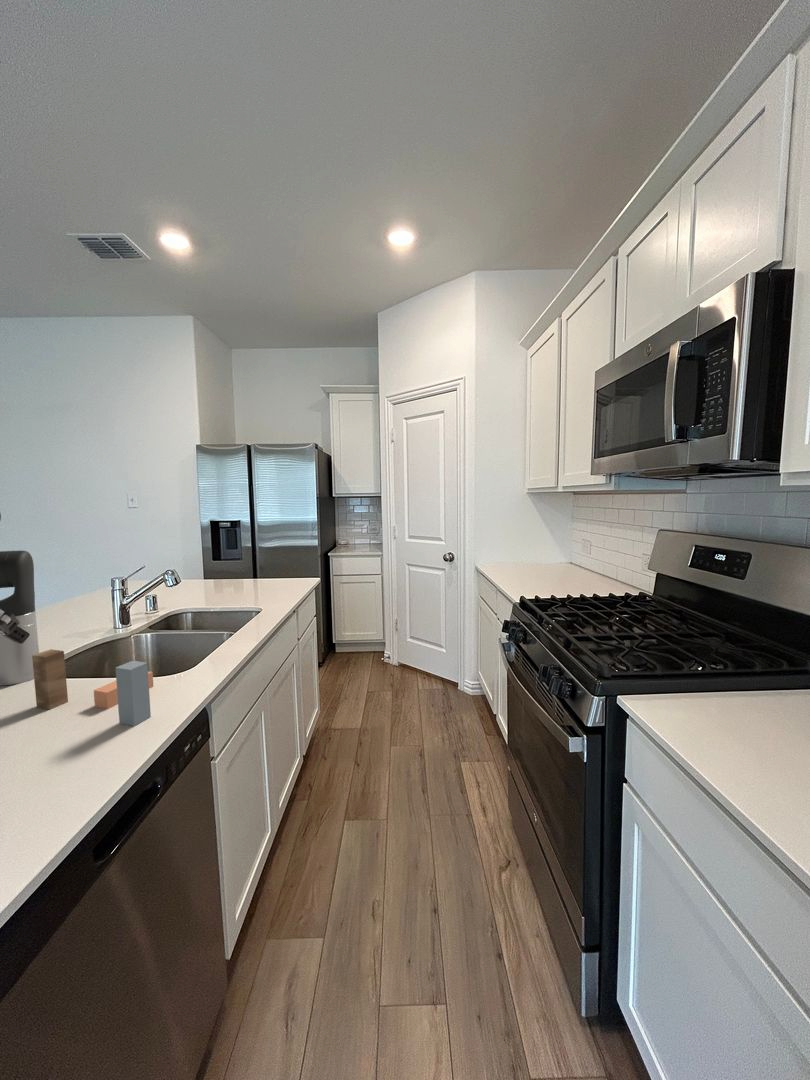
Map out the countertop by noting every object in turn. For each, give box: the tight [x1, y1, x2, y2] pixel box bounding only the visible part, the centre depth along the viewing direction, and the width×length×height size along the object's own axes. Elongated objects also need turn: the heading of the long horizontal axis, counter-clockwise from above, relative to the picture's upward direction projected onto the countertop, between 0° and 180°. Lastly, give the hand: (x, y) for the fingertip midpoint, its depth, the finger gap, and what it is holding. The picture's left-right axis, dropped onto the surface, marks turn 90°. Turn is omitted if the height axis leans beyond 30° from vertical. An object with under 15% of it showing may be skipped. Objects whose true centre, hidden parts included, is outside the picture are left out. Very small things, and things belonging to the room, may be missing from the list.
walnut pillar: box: [32, 648, 69, 711], centre depth 100 cm, size 4×4×12 cm
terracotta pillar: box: [93, 670, 154, 710], centre depth 105 cm, size 4×4×12 cm
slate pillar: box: [115, 660, 152, 727], centre depth 93 cm, size 4×4×12 cm
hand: (23, 638), depth 84 cm, fingers closed
